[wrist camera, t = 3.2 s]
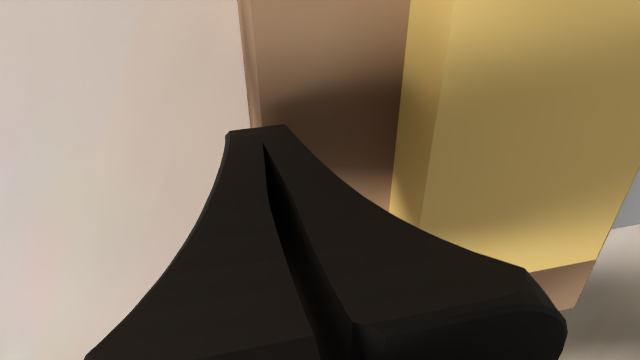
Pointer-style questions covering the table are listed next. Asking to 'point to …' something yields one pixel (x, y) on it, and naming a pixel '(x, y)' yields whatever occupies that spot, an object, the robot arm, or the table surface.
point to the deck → (346, 94)
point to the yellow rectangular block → (519, 125)
